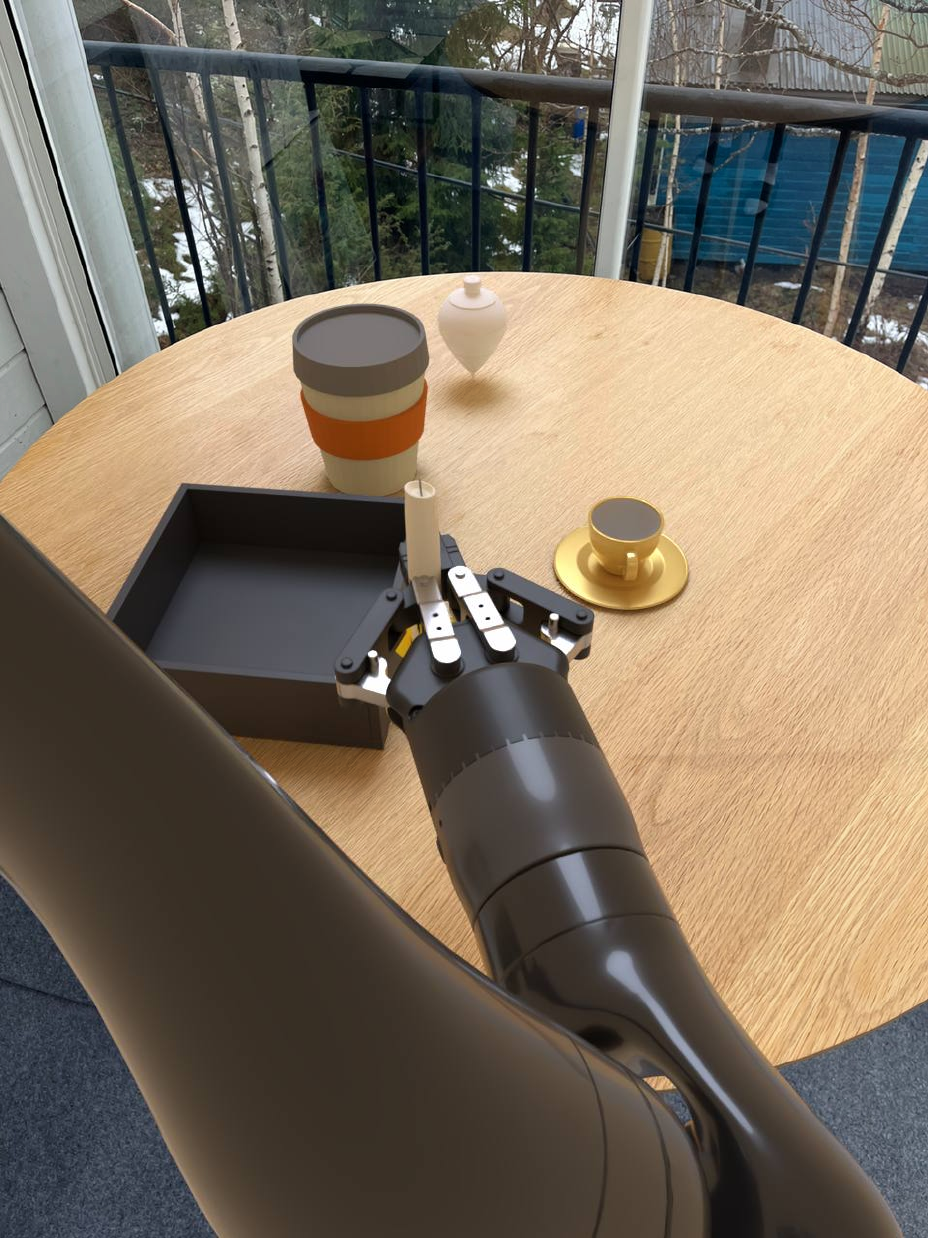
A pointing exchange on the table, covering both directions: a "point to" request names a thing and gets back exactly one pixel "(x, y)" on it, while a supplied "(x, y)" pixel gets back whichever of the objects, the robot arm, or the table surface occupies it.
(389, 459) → the reusable coffee cup
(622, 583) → the cup
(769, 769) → the table surface
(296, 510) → the bin
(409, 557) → the candle
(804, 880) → the table surface
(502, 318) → the spinning top
